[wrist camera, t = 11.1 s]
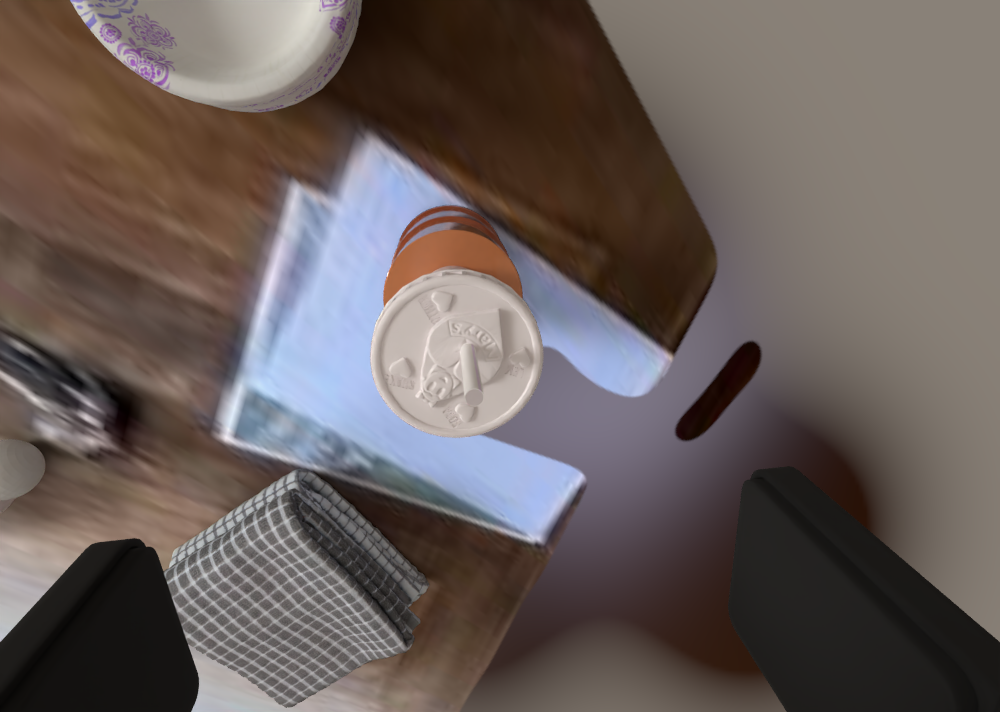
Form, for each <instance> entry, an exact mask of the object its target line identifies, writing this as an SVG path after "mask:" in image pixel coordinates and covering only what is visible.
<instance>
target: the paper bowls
mask: <svg viewBox="0 0 1000 712" xmlns="http://www.w3.org/2000/svg"><path fill="white" fill-rule="evenodd" d="M70 1H71V3H72V4H73V6H74V8H75V9H76V11H77V12H78V14H79V15H80V16H81V18H82V20H83V21H84V22H85V24H86V25H87V26H88V27H89V29H90V30H91V31H92V32H93V33H94V35H95V36H96V37H97V38H98V39H99V41H100V42H101V43H102V44H103V45H104V46H105V47H106V48H107V49H108V50H109V51H110V52H111V53H112V54H113V55H114V56H115V57H116V58H117V59H118V60H120V61H121V62H122V63H123V64H125V65H126V66H127V67H129V68H130V69H131V70H133V71H134V72H135V73H137V74H138V75H140V76H142V77H143V78H144V79H146V80H148V81H149V82H151V83H152V84H154V85H156V86H158V87H160V88H161V89H163V90H166V91H168V92H170V93H172V94H174V95H177V96H180V97H183V98H185V99H189V100H192V101H194V102H199V103H203V104H207V105H212V106H215V107H219V108H223V109H227V110H231V111H241V112H266V111H274V110H277V109H281V108H285V107H288V106H291V105H294V104H297V103H299V102H301V101H303V100H304V99H306V98H308V97H310V96H312V95H313V94H315V93H317V92H318V91H320V90H321V89H322V88H323V87H324V86H325V85H326V84H327V83H328V82H329V81H330V80H331V79H332V78H333V77H334V76H335V74H336V73H337V72H338V70H339V69H340V67H341V65H342V64H343V62H344V59H345V58H346V56H347V54H348V52H349V50H350V48H351V45H352V43H353V41H354V38H355V35H356V30H357V27H358V20H359V17H360V14H361V3H362V0H70Z"/></svg>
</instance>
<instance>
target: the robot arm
mask: <svg viewBox="0 0 1000 712" xmlns="http://www.w3.org/2000/svg"><path fill="white" fill-rule="evenodd" d="M728 609H729V615H730V619H731V622H732V625H733V627H734V629H735V631H736V632H737V634H738V635H739V637H740V639H741V640H742V642H743V643H744V645H745V646H746V648H747V650H748V651H749V653H750V654H751V656H752V657H753V659H754V661H755V662H756V664H757V665H758V667H759V669H760V670H761V672H762V673H763V675H764V676H765V678H766V679H767V681H768V683H769V684H770V686H771V687H772V689H773V691H774V692H775V693H776V695H777V697H778V699H779V700H780V702H781V703H782V705H783V706H784V708H785V710H786V711H787V712H1000V642H999V641H998V640H997V639H995V638H994V637H993V636H992V635H991V634H989V633H988V632H987V631H986V630H985V629H984V628H982V627H981V626H980V625H979V624H978V623H977V622H975V621H974V620H973V619H972V618H971V617H970V616H968V615H967V614H966V613H965V612H964V611H962V610H961V609H960V608H959V607H958V606H957V605H956V604H954V603H953V602H952V601H951V600H950V599H948V598H947V597H946V596H945V595H944V594H943V593H941V592H940V591H939V590H938V589H937V588H936V587H934V586H933V585H932V584H931V583H930V582H929V581H927V580H926V579H925V578H924V577H922V576H921V575H920V574H919V573H918V572H917V571H916V570H915V569H913V568H912V567H911V566H910V565H908V564H907V563H906V562H905V561H904V560H903V559H902V558H900V557H899V556H898V555H897V554H896V553H895V552H893V551H892V550H891V549H890V548H889V547H888V546H886V545H885V544H884V543H883V542H882V541H880V540H879V539H878V538H877V537H876V536H875V535H873V534H872V533H871V532H870V531H869V530H868V529H866V528H865V527H864V526H863V525H862V524H861V523H859V522H858V521H857V520H856V519H855V518H854V517H852V516H851V515H850V514H849V513H848V512H847V511H845V510H844V509H843V508H842V507H841V506H839V505H838V504H837V503H836V502H835V501H834V500H832V499H831V498H830V497H829V496H828V495H826V494H825V493H824V492H823V491H822V490H821V489H820V488H818V487H817V486H816V485H815V484H814V483H813V482H811V481H810V480H809V479H808V478H807V477H806V476H804V475H803V474H802V473H801V472H800V471H798V470H797V469H795V468H794V467H789V466H788V467H779V468H769V469H760V470H756V471H755V472H754V473H753V474H752V476H751V479H750V480H747V481H745V482H744V484H743V487H742V493H741V501H740V510H739V518H738V527H737V535H736V544H735V552H734V561H733V569H732V578H731V587H730V595H729V604H728ZM198 689H199V677H198V673H197V670H196V667H195V664H194V661H193V658H192V655H191V652H190V649H189V646H188V643H187V640H186V637H185V634H184V631H183V628H182V625H181V622H180V620H179V617H178V614H177V611H176V608H175V605H174V602H173V599H172V596H171V593H170V590H169V587H168V584H167V581H166V578H165V575H164V572H163V569H162V566H161V563H160V560H159V557H158V555H157V553H156V551H155V549H153V548H152V547H146V546H145V544H144V543H143V542H142V541H141V540H140V539H135V538H134V539H125V540H116V541H106V542H98V543H95V544H92V545H90V546H89V547H88V548H87V549H85V551H84V552H83V553H82V554H81V555H80V556H79V557H78V558H77V559H76V560H75V561H74V563H73V564H72V565H71V566H70V567H69V568H68V569H67V570H66V571H65V572H64V573H63V575H62V576H61V577H60V578H59V579H58V580H57V581H56V582H55V583H54V584H53V585H52V587H51V588H50V589H49V590H48V591H47V592H46V593H45V594H44V595H43V596H42V597H41V599H40V600H39V601H38V602H37V603H36V604H35V605H34V606H33V607H32V608H31V609H30V611H29V612H28V613H27V614H26V615H25V616H24V617H23V618H22V619H21V620H20V621H19V622H18V624H17V625H16V626H15V627H14V628H13V629H12V630H11V631H10V632H9V633H8V634H7V636H6V637H5V638H4V639H3V640H2V641H1V642H0V712H191V711H192V708H193V706H194V704H195V701H196V699H197V694H198Z"/></svg>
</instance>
